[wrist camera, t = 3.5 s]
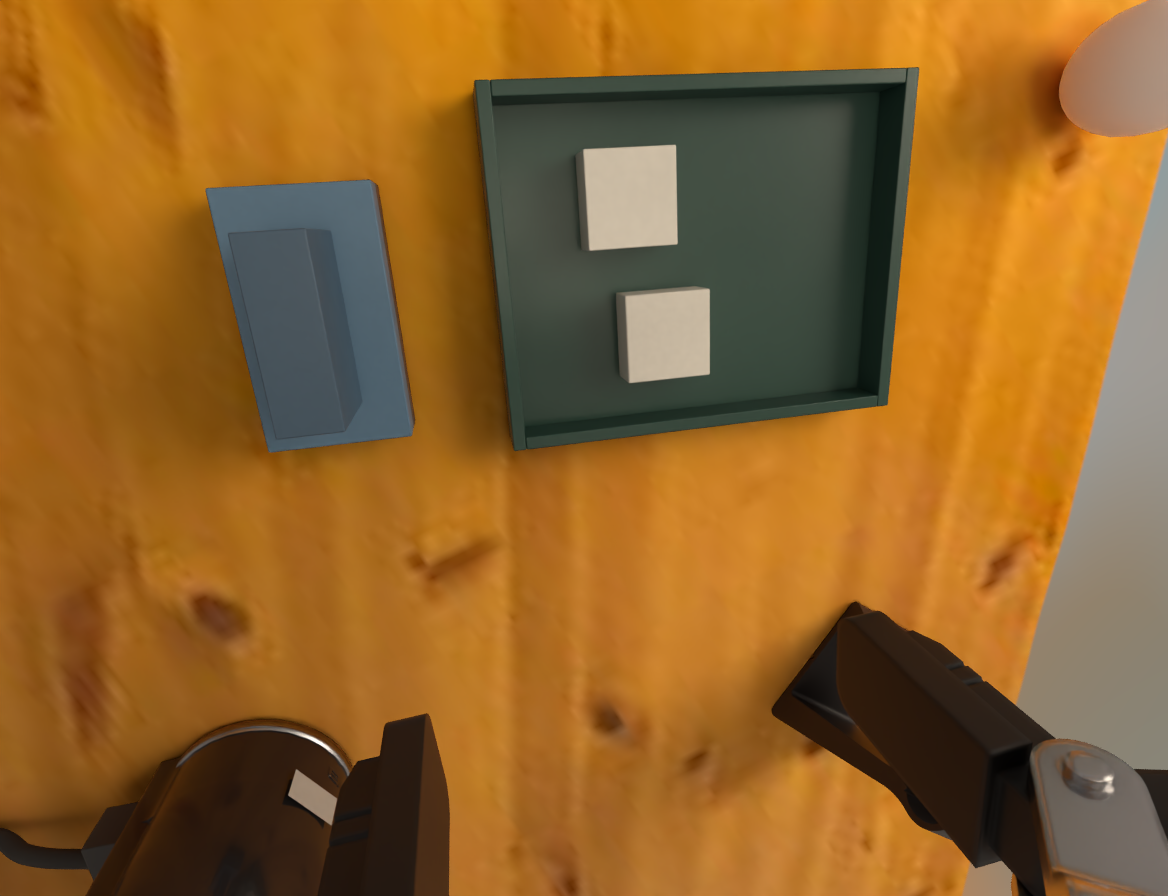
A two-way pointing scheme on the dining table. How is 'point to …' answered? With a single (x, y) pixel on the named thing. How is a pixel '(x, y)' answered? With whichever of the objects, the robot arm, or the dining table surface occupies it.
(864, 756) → the dark grey a-frame stand
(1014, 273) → the dining table surface
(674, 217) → the cream slab tile
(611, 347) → the tray
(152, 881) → the robot arm
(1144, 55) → the egg
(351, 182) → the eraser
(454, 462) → the dining table surface
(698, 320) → the beige square tile
